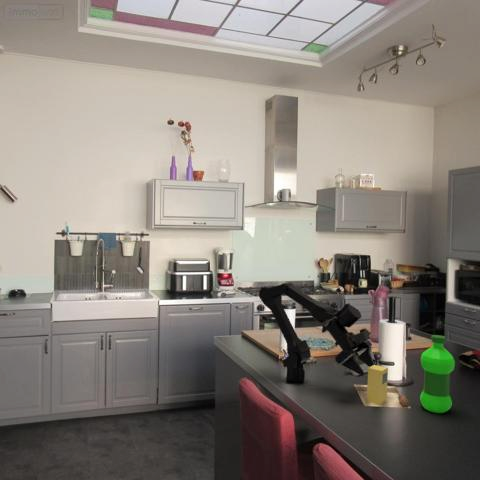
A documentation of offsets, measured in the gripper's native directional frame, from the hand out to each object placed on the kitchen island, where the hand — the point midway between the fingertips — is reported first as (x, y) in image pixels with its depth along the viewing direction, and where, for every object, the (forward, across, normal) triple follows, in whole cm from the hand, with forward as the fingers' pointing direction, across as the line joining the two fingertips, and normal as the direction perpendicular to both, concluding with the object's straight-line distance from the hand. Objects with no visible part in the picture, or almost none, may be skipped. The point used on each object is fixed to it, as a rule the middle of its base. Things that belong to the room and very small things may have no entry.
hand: (369, 372), depth 171 cm
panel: (+8, +6, +6) cm, 12 cm away
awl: (+14, +5, 0) cm, 15 cm away
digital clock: (-4, +29, +19) cm, 35 cm away
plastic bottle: (+22, +6, -7) cm, 24 cm away
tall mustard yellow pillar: (+9, 0, +4) cm, 10 cm away
